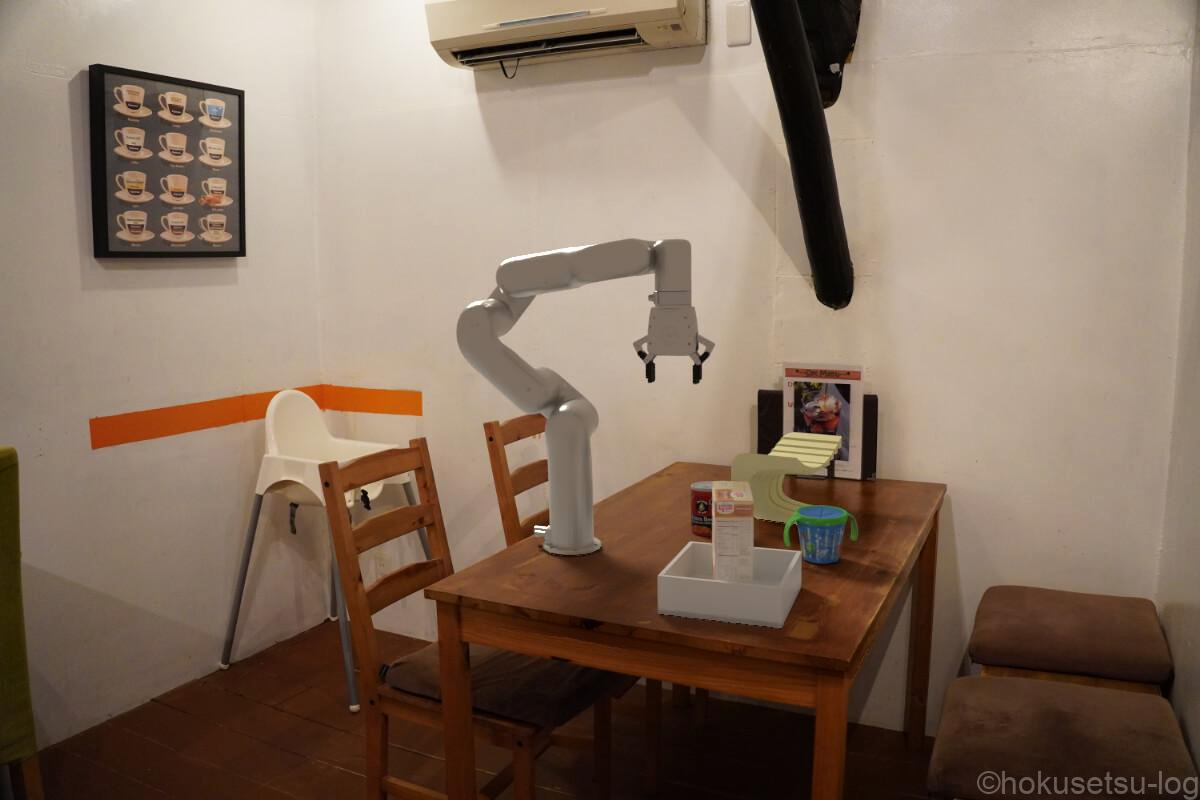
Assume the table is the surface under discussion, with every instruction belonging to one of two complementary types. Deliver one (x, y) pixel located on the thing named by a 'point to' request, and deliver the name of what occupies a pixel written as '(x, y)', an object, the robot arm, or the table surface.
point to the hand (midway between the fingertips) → (673, 382)
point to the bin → (730, 587)
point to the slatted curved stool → (783, 471)
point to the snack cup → (821, 532)
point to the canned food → (701, 508)
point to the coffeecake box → (732, 532)
